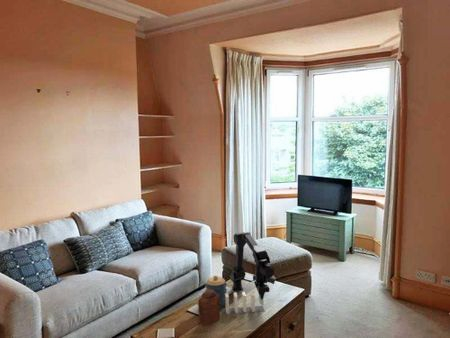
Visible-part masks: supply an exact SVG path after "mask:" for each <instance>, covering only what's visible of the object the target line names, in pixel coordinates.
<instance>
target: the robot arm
mask: <svg viewBox="0 0 450 338" xmlns="http://www.w3.org/2000/svg"><path fill="white" fill-rule="evenodd" d="M232 239H233V242H234V244H235V246H236V247H235V259H234V260H235V264H234V267H232V271H231V274H229V279H230V281H231V282H232V286H231V288H232V290H233V292H236V291H244V289H243V286H242V285H243V284H242V283H243V282H242V281H244V280H245V278H246V270H245V268H244V265H243V264H244V251H245V249H244V247H245V246H246V244H247V246H248V248H249V249H250V250H251V252H252V257H253V262H254V263H255V271H254V274H253V275H252V280H253V283H254V286H255V287H256V290H257V293H258V296H259V295H260V298H261V299H263V300H264V297H265V294H266V293H270V292H271V291H270V290H271V289H270V287H269V285H268V283H270V284H272V285H274V284H275V282H276V280H277V278H276V276H275V270H274V268H273V267H272V266H271V258H270V256H269V254H268V251H266V249H265V248H264V247H262V246H260V245H258V243H257V241H256V240H255V239H254V237H253V236H252V234H251V232H249V231H246V232H238V233H235V234H233V238H232Z"/></svg>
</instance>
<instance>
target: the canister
mask: <svg viewBox="0 0 450 338" xmlns="http://www.w3.org/2000/svg"><path fill="white" fill-rule="evenodd" d="M227 285H228V284H227V283H226V280H225V278H223V277H221V276H218V275H214V276H211V277H209V278H208V279H207V280H206V283H205V286H204V287H205V290H204V292H205V291H206V290H214V291H215V292H216V293H217V295H219V299H220V304H219V306H220V308H223V307H225V293H227V291H228V290H227Z"/></svg>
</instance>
